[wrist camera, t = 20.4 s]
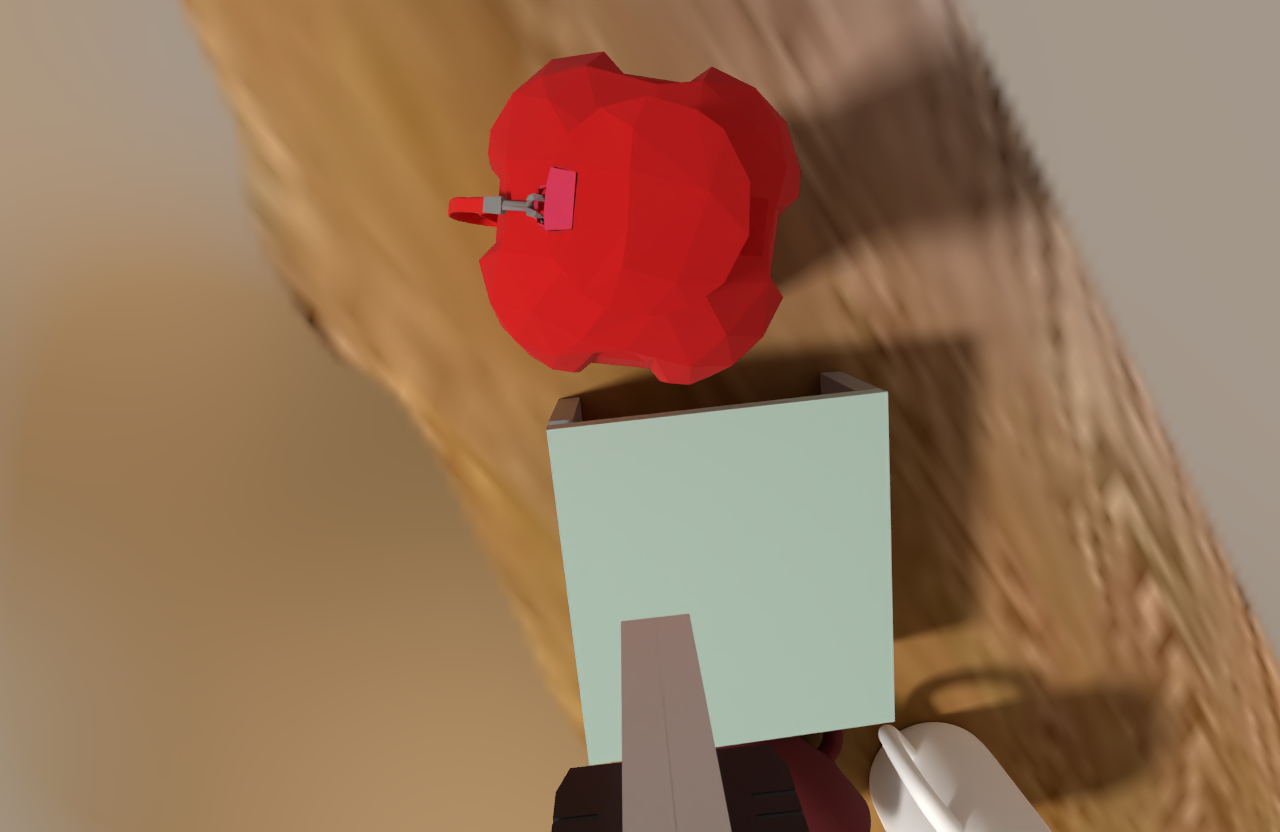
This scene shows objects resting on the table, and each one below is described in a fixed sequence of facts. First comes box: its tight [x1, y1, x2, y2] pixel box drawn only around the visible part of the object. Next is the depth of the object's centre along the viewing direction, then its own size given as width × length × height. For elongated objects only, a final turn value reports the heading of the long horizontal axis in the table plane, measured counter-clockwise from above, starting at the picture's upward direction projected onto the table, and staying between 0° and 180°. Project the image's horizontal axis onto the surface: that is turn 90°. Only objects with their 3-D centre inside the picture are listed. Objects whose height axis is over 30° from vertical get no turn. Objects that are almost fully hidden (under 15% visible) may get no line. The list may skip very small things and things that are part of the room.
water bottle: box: [448, 52, 801, 385], centre depth 26 cm, size 9×11×25 cm
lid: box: [546, 388, 895, 765], centre depth 35 cm, size 18×16×1 cm
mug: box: [715, 729, 871, 832], centre depth 42 cm, size 11×8×10 cm
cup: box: [869, 722, 1052, 832], centre depth 40 cm, size 8×12×10 cm
